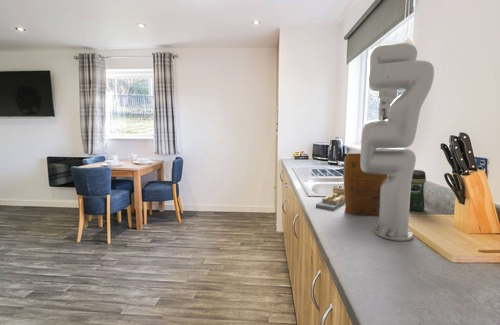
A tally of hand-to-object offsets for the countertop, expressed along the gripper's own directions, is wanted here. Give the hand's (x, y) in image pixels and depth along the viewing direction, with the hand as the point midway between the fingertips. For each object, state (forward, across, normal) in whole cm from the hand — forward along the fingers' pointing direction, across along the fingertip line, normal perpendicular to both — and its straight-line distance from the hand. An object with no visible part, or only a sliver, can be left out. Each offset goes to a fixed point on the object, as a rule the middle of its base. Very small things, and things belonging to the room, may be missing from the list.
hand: (385, 132), depth 124 cm
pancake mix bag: (+36, -16, +3) cm, 40 cm away
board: (+36, -9, +21) cm, 43 cm away
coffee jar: (+36, +5, -12) cm, 38 cm away
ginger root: (+34, -7, +21) cm, 41 cm away
